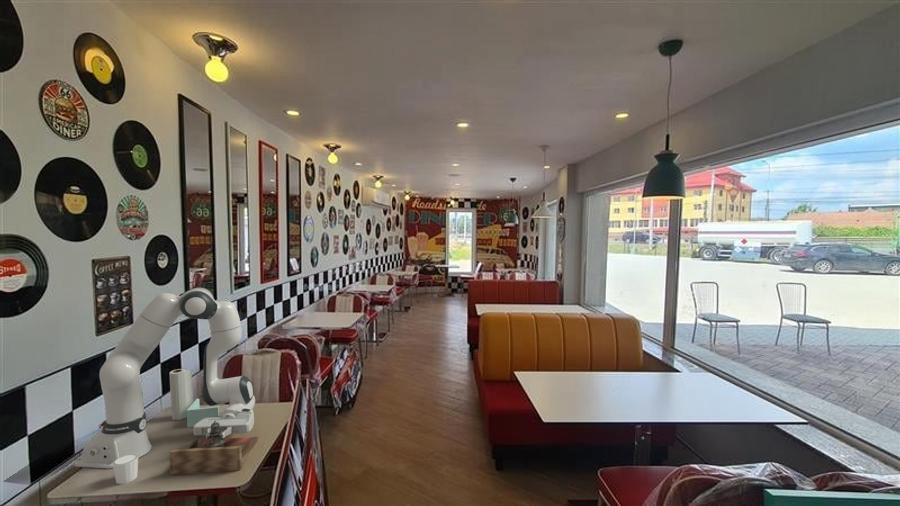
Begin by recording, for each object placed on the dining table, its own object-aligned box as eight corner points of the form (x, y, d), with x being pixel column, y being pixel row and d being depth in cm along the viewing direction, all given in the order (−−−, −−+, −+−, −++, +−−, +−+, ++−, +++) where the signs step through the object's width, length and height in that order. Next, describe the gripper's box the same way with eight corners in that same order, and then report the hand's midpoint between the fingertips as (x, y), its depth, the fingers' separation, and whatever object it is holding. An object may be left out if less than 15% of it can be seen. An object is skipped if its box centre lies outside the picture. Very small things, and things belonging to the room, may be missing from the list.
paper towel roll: (168, 420, 178) (165, 372, 176) (180, 413, 184) (177, 367, 182) (182, 421, 176) (180, 373, 175) (193, 415, 182) (191, 368, 181)
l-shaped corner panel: (218, 424, 174) (218, 407, 174) (187, 427, 171) (186, 410, 171) (226, 411, 186) (226, 395, 185) (197, 414, 183) (196, 398, 182)
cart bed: (170, 474, 139) (169, 452, 139) (202, 441, 160) (201, 422, 159) (240, 470, 141) (239, 448, 141) (262, 438, 162) (261, 419, 162)
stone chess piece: (217, 457, 145) (215, 425, 144) (203, 455, 146) (201, 423, 145) (229, 448, 150) (227, 417, 149) (215, 446, 152) (214, 415, 151)
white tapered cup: (108, 484, 134) (106, 464, 133) (127, 471, 141) (126, 452, 140) (126, 486, 133) (124, 465, 132) (144, 473, 140) (143, 454, 139)
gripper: (203, 411, 159) (183, 429, 145) (257, 409, 161) (243, 426, 147) (204, 427, 160) (184, 446, 146) (257, 424, 162) (243, 443, 148)
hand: (214, 436), depth 147 cm, fingers closed on stone chess piece, 3 cm apart
